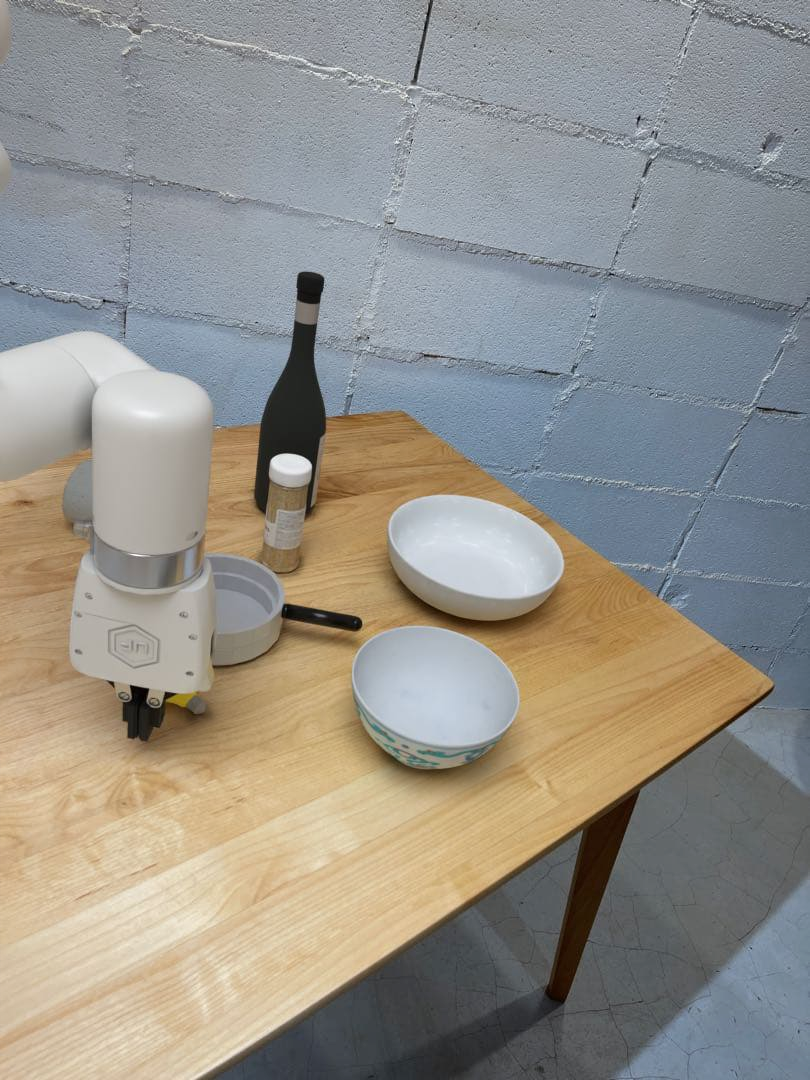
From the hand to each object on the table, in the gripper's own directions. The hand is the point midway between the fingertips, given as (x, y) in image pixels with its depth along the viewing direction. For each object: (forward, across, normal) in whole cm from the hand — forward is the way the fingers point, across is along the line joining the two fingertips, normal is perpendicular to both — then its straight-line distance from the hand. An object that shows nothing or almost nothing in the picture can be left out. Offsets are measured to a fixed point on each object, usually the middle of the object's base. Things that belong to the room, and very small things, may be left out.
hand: (143, 727), depth 67 cm
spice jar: (+3, +6, +31) cm, 31 cm away
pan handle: (0, +12, +18) cm, 21 cm away
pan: (+3, +2, +18) cm, 18 cm away
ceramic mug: (+4, -14, +33) cm, 36 cm away
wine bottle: (+3, +4, +44) cm, 44 cm away
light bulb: (+3, +1, +6) cm, 7 cm away
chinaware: (+3, +24, +7) cm, 25 cm away
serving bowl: (+3, +28, +33) cm, 43 cm away
